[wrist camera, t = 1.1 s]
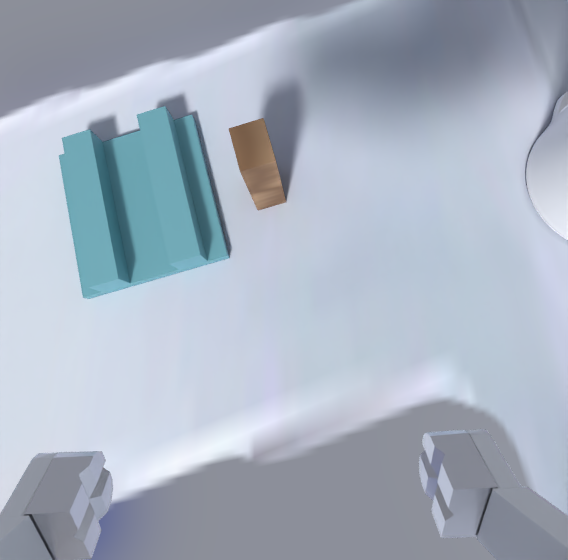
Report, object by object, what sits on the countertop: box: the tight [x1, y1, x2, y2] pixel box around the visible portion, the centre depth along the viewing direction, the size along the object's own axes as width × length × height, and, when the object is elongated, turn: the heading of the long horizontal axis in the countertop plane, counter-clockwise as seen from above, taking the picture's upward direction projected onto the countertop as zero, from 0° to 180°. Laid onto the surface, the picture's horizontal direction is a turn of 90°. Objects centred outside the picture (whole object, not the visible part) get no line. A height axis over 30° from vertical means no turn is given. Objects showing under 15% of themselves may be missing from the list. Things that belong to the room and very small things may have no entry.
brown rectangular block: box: [229, 118, 286, 210], centre depth 39 cm, size 3×4×9 cm
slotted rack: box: [59, 106, 229, 299], centre depth 42 cm, size 15×16×4 cm
